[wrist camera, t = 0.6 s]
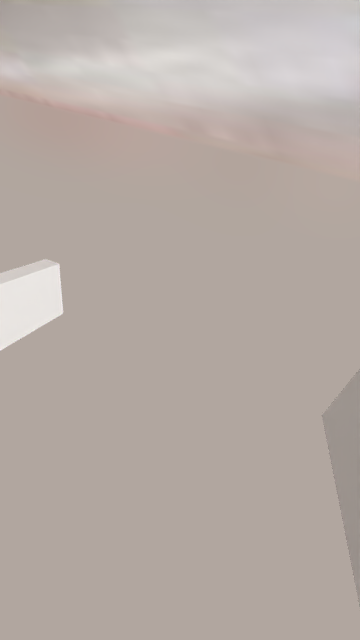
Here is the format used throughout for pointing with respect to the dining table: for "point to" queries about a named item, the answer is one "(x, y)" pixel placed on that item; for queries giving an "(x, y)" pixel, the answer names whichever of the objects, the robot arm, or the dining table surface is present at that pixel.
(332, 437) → the robot arm
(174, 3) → the dining table surface
